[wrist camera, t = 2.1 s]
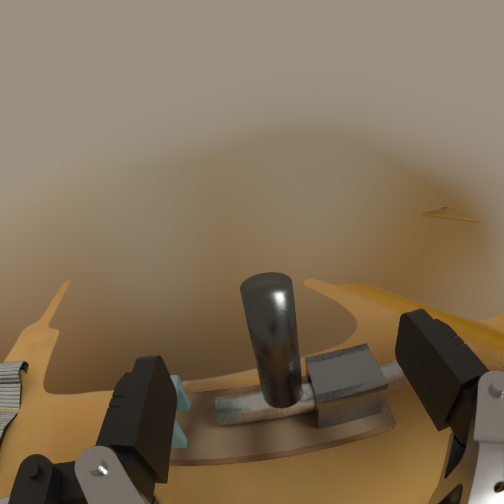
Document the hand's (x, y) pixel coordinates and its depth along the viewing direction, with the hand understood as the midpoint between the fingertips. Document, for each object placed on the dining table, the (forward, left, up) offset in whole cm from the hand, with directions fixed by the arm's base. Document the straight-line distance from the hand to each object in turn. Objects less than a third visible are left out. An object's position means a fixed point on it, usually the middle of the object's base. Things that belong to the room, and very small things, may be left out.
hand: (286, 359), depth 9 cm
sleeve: (-7, -13, -21) cm, 26 cm away
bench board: (+2, -13, -23) cm, 26 cm away
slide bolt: (-3, -13, -21) cm, 25 cm away
